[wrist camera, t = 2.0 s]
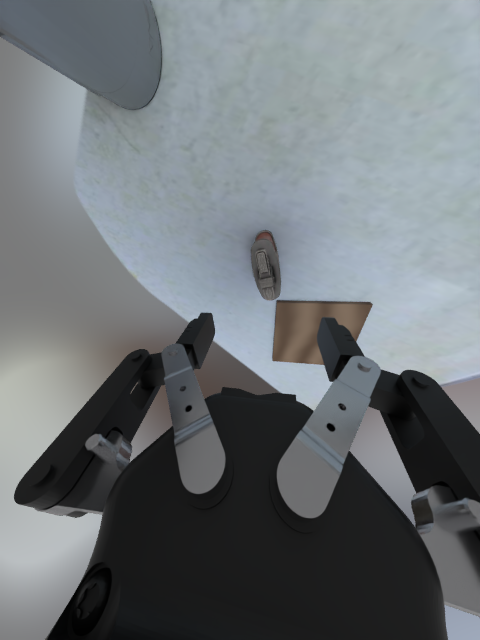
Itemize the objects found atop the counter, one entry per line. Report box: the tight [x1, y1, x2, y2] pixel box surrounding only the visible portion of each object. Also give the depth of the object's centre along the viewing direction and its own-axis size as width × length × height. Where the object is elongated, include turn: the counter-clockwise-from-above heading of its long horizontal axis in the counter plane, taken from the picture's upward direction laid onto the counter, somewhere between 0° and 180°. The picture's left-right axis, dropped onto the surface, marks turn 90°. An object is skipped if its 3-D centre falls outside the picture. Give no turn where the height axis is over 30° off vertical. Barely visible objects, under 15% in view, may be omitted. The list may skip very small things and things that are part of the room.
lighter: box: [251, 230, 281, 300], centre depth 24 cm, size 8×3×10 cm, turn 16°
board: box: [273, 300, 373, 365], centre depth 35 cm, size 16×16×1 cm
